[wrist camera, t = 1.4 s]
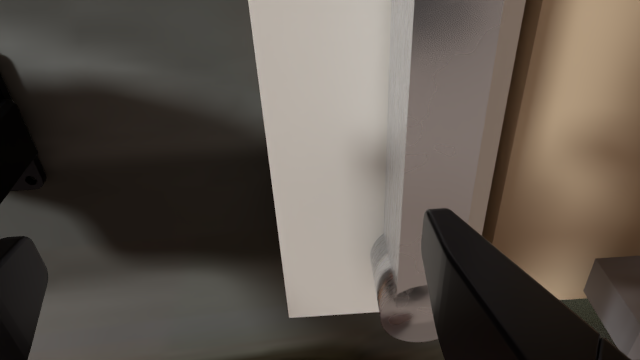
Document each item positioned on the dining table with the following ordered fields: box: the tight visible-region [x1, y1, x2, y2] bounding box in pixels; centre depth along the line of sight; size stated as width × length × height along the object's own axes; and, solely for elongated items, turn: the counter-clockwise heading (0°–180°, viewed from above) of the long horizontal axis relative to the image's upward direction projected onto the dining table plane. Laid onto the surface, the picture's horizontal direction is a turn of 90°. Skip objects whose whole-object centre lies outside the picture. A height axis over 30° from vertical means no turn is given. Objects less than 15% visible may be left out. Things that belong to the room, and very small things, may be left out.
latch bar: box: [370, 0, 504, 342], centre depth 15 cm, size 14×3×3 cm, turn 3°
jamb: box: [248, 0, 526, 318], centre depth 18 cm, size 8×22×5 cm, turn 3°
